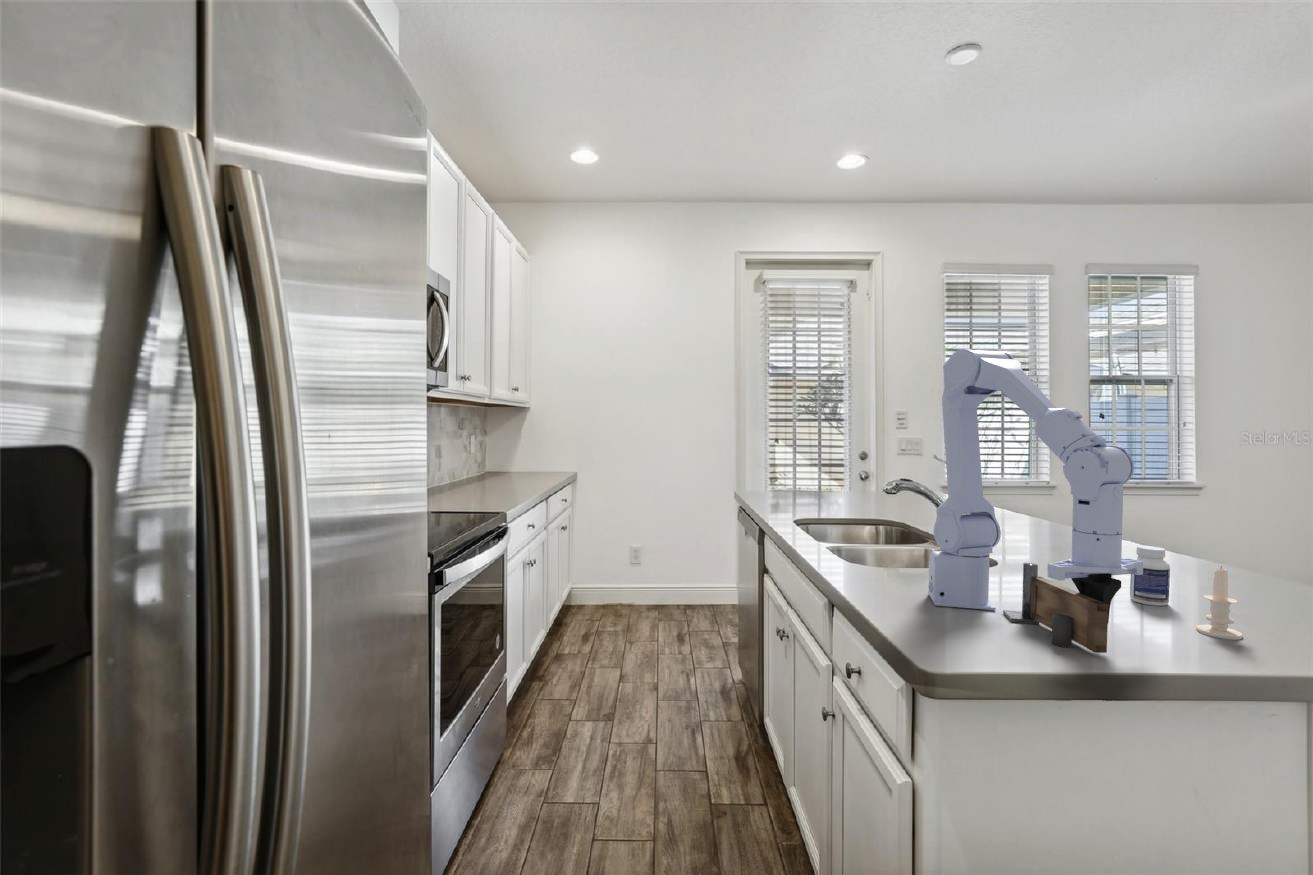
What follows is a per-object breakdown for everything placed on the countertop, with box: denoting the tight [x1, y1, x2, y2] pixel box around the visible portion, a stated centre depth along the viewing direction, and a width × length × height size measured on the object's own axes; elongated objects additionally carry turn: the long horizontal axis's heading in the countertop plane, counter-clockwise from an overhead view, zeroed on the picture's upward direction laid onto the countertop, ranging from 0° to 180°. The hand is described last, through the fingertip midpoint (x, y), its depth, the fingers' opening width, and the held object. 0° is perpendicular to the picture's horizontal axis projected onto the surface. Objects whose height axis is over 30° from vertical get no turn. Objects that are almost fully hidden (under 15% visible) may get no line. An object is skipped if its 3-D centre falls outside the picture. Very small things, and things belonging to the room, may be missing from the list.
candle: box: [1196, 565, 1244, 641], centre depth 93 cm, size 5×5×10 cm
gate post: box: [1002, 562, 1040, 625], centre depth 99 cm, size 4×4×9 cm
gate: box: [1030, 575, 1109, 654], centre depth 90 cm, size 15×2×7 cm, turn 0°
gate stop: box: [1051, 614, 1073, 648], centre depth 88 cm, size 2×2×4 cm
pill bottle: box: [1129, 545, 1171, 607], centre depth 109 cm, size 5×5×10 cm
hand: (1094, 626), depth 87 cm, fingers closed, pressing on gate
